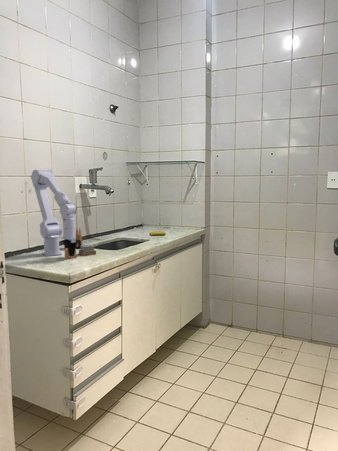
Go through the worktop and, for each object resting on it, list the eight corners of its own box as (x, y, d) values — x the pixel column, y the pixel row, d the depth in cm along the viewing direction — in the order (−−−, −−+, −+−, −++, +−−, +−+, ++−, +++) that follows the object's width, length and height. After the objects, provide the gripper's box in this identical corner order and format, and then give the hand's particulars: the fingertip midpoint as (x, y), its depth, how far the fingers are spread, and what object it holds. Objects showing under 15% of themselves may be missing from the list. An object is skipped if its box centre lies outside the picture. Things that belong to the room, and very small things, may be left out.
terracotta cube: (64, 257, 189) (64, 248, 188) (73, 256, 191) (73, 247, 190) (67, 259, 185) (66, 250, 184) (76, 257, 187) (75, 249, 187)
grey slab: (80, 249, 197) (80, 245, 197) (91, 248, 200) (90, 244, 199) (83, 251, 192) (83, 246, 192) (94, 250, 195) (94, 245, 195)
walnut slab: (78, 254, 198) (78, 249, 197) (91, 253, 201) (91, 248, 201) (82, 257, 192) (82, 252, 191) (96, 255, 195) (95, 250, 195)
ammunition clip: (64, 248, 213) (63, 227, 212) (66, 247, 215) (65, 226, 213) (81, 249, 210) (80, 227, 209) (82, 248, 212) (82, 227, 210)
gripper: (57, 226, 190) (58, 253, 192) (64, 230, 178) (65, 258, 180) (71, 225, 194) (72, 251, 196) (79, 229, 181) (80, 256, 183)
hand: (70, 254), depth 188 cm, fingers closed on terracotta cube, 4 cm apart
